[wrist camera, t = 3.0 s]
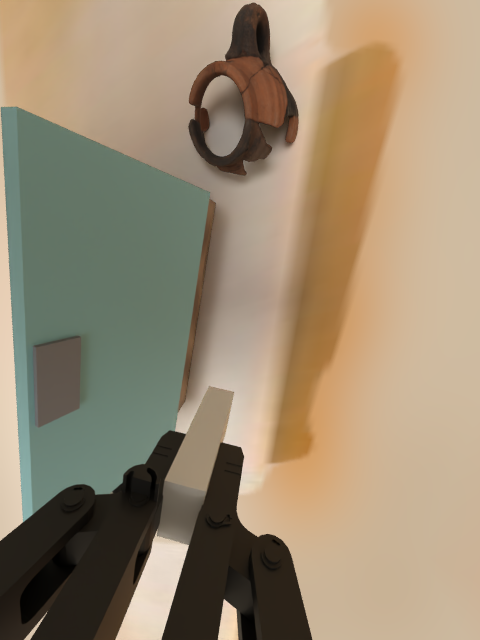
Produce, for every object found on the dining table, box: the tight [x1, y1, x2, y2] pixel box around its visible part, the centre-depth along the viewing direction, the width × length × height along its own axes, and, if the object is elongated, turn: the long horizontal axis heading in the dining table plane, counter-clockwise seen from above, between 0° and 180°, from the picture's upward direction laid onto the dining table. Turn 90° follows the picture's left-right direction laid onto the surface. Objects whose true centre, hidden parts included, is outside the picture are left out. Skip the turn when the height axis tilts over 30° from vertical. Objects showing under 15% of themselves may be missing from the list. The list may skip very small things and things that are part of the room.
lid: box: [1, 107, 210, 522], centre depth 21 cm, size 26×14×2 cm
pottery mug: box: [188, 3, 298, 175], centre depth 25 cm, size 12×10×8 cm
